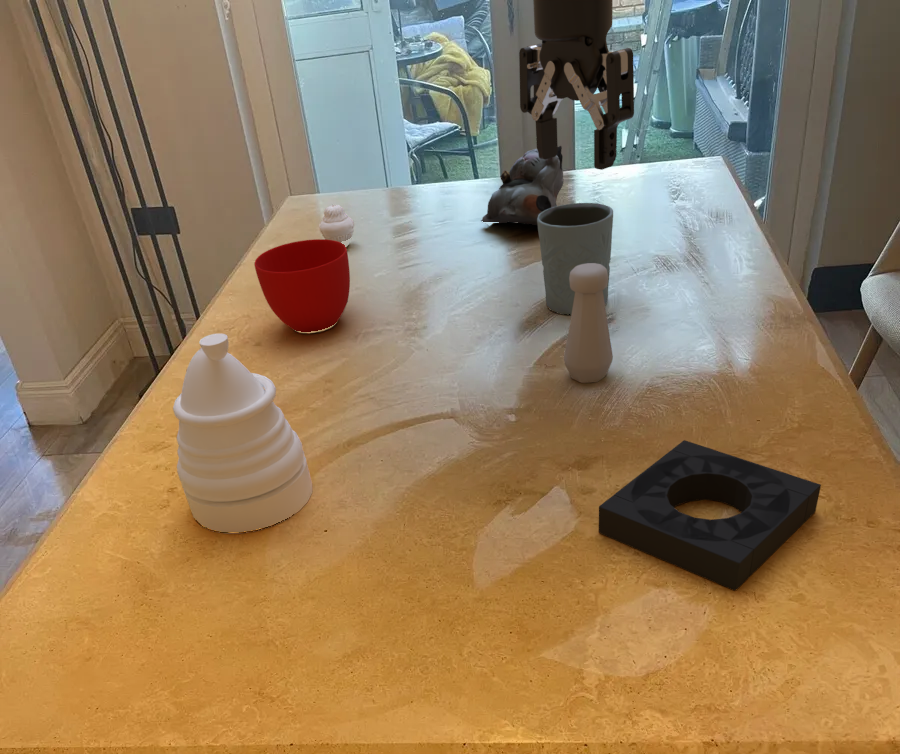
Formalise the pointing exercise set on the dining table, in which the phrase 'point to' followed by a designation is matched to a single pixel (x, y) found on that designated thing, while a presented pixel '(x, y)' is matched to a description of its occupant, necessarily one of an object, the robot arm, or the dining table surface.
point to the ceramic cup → (306, 282)
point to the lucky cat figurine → (526, 189)
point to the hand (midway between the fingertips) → (575, 162)
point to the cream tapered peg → (588, 325)
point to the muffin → (336, 224)
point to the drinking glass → (572, 247)
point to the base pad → (703, 540)
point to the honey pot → (236, 445)
